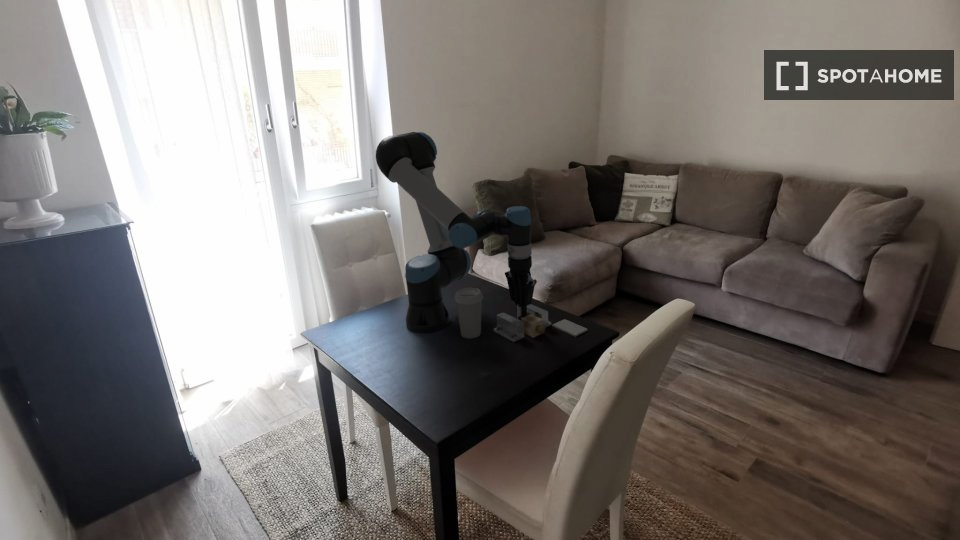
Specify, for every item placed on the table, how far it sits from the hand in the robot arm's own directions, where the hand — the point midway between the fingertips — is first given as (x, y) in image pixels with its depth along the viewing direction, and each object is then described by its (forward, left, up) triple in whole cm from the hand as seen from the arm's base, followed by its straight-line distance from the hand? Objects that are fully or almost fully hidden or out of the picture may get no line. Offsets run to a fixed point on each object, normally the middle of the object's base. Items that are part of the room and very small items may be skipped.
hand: (521, 322), depth 164 cm
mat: (+11, +11, -2) cm, 16 cm away
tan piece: (+4, 0, -2) cm, 5 cm away
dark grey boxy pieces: (0, 0, -2) cm, 2 cm away
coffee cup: (-9, -15, -2) cm, 18 cm away
